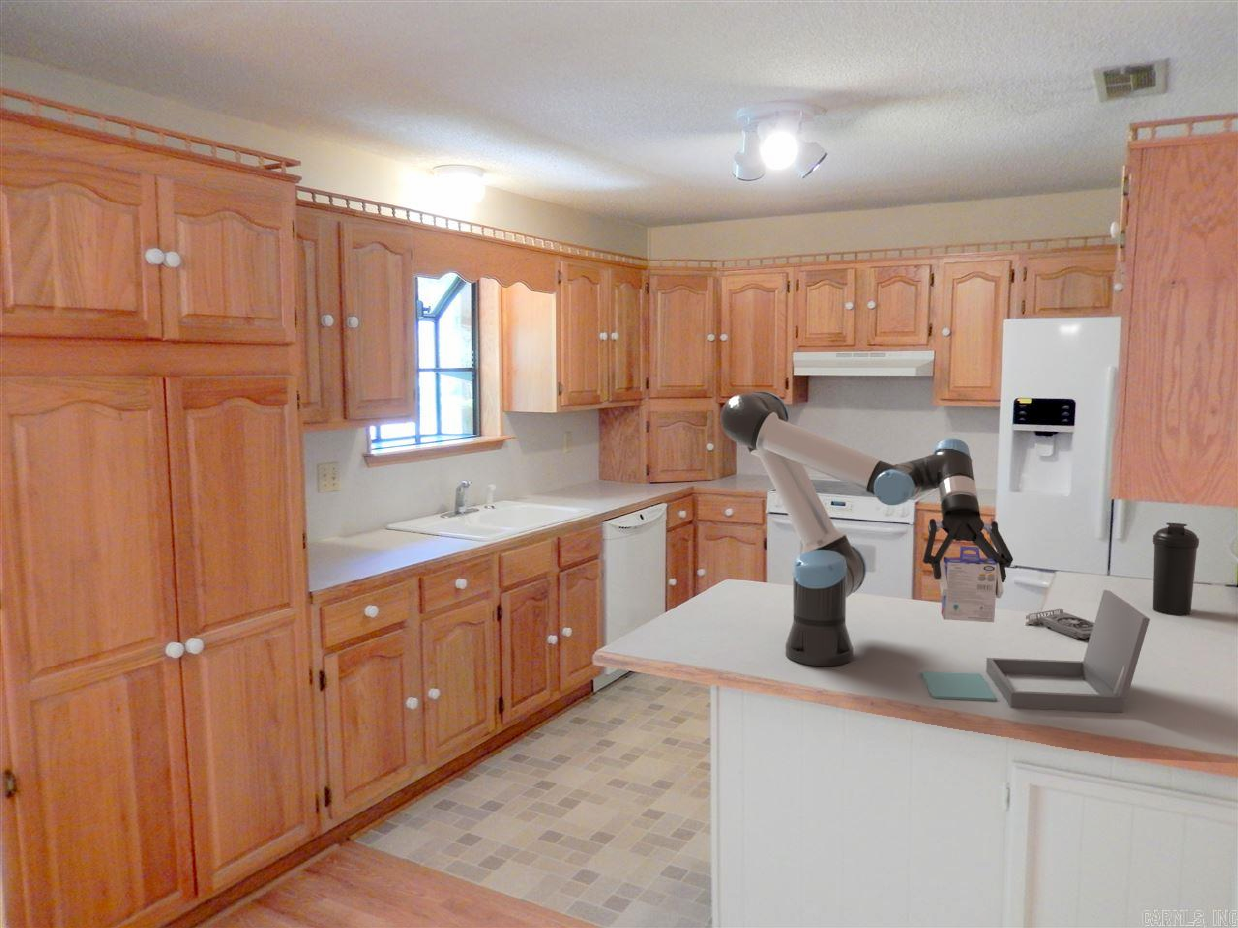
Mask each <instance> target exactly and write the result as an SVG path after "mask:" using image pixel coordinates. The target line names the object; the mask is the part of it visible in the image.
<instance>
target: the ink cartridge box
mask: <svg viewBox="0 0 1238 928" xmlns="http://www.w3.org/2000/svg"><path fill="white" fill-rule="evenodd" d="M959 549H960V552H959V554H960V555H959V557H958V556H957V557H956V556H955V557H954V556H951V557H950V556H943V561H944V563H945V571H946V580H947V588H948V590H947V592H946V595H945V596H941V597H942V600H941V612H940V613H941V616H942V618H943V620H946V621H965V622H966V621H967V622H980V623H981V622H982V623H983V622H985V623H995V617H996V614H995V611H996V600H997V598H996V582H997V568H998V564H997V563H996V562H995V561H994V560H993V559H992V558H987V557H981V556H980V549H979V547H978V546H977V547H976V546H974V547H973V546H960V548H959ZM967 551H972V552H975V554H973V553H964V552H967Z"/></svg>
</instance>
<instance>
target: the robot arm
mask: <svg viewBox="0 0 1238 928" xmlns="http://www.w3.org/2000/svg"><path fill="white" fill-rule="evenodd" d="M789 417H790V416H789V410H788V407H787V404H786V403H785V402H784V400H783V399H781V397H779V396H778V395H776V394H775V393H771V392H767V391H754V392H753V391H752V392H749V393H739V394H736V395H734V396H732V397H731V398H729V399H728V400H726V403H724V405H723V406H722V408H721V411H720V415H719V418H720V419H719V420H720V421H719V422H720V426H721V429H722V431H723V433H725V435H726V436H727V437H728V438H729V439H730V440H732V441H733V442H736V443H737V444H740V445H743V446H746V447H747V449H748V451H749V454H750V455H752V456H755V457H758V458H759V460H760V461H761V464H762V466H763V468H764V470H765V471H766V473H767V476H768V478H769V480H770V482H771V483H772V485H773V487H774V489H775V491H776V494H777V495H778V497H779V500H780V501H781V503H782V505H783V507H784V509H785V512H786V513H787V515H788V517H789V519H790V521H791V523H792V525H793V528H794V529H795V531H796V533H797V535H798V537H799V539H800V541H801V544H802V545H803V546H802V550H801V553H800V554H799V555H797V556H796V558H795V559H794V563H793V569H792V576H793V619H792V621H793V622H792V625H791V627H790V631H789V634H788V636H787V639H786V642H785V656H786V658H788V659H789V660H791V661H793V662H796V663H798V664H801V665H805V666H812V667H836V666H837V667H838V666H842V665H846V664H848V663H849V662H851V661H853V658H854V647H853V643H852V640H851V637H850V633H849V631H848V628H847V625H846V624H847V623H846V619H847V618H846V617H847V616H846V615H847V613H846V612H847V609H846V608H847V599H848V597H849V596H851V595H852V594H854V593H855V592H856V591H858V590H859V589H860V588H861V586H862V584H863V582H864V581H865V579H866V576H867V575H866V574H867V561H866V559H865V557H864V555H863V554H862V552H861V551H860V550H859V549H858V548H856V547H855V546H853V545H851V543H850V541H849V539H848V537H847V535H846V533H845V532H841V531H839V530H838V529H836V528H835V526H834V524H833V521H832V520H831V517H830V515H829V514H828V512H827V510H826V507H825V506H824V504H823V501H822V500H821V498H820V496H819V494H818V493H817V492H818V491H817V490H816V488H815V486H814V484H813V482H812V481H811V479H810V476H809V475H808V473H807V470H806V468H805V467H808V468H809V469H812V470H814V471H817V472H819V473H821V474H825V475H826V476H829V477H831V478H834V479H835V480H839V481H841V482H844V483H845V484H848V485H850V486H852V487H855V488H857V489H860V490H862V491H865V492H867V493H869V494H871V495H874V496H875V497H876V498H877V500H878V501H880V502H881V503H882V504H884V505H887V506H898V505H899V506H900V505H902V504H905V503H906V502H908V501H909V500H910V499H911V498H913V497H914V496H916V495H918V494H920V493H924V492H927V491H931V490H935V489H938V491H939V500H940V501H939V502H940V508H941V509H940V510H941V515H942V520H941V521H939V520H938V521H937V520H935V519H934V518H931V519H929V521H928V526H927V529H928V538H927V542H926V546H925V550H924V555H923V558H922V563H924V565H925V564H926V565H928V564H929V565H931V568H932V570H933V577H934V579H935V580H938V581H939V585H940V586H939V587H940V588H939V589H940V595H941V597H942V596H945V595H946V592H947V590H948V588H947V580H946V571H945V563H944V560H942V559H944V557H945V554H946V553H947V551H948V550H949V548H950V546H951V545H952V544H953V542H954V541H955V542H962V541H964V542H972V543H973V544H974V545H975V547H976V546H977V547H978V548H979V551H981V552H982V553H983V555H984V556H985V558H992V559H993V560H994V561H995V562H996V563H997V564H998V568H997V582H996V599H1001V598H1002V596H1003V594H1004V593H1005V592H1004V585H1003V583H1004V582H1005V580H1006V577H1007V573H1006V569H1005V568H1010V567H1011V565H1012V563H1013V561H1014V558H1013V556H1012V554H1011V552H1010V549H1009V547H1008V546H1007V544H1006V542H1005V540H1004V539H1003V536H1002V535H1001V533H1000V531H999V523H998V522H997V521H995V520H993V521H992V522H991V523H989V522H984V521H983V520H982V518H981V511H980V505H979V501H978V500H979V499H978V493H977V492H978V491H977V486H976V481H975V476H974V475H975V474H974V465H973V459H972V455H971V453H970V448H969V445H968V444H967V443H966V442H965V441H963V440H961V439H959V438H946V439H943V440H941V441H940V442H938V443H936V445H935V447H934V449H933V454H929V455H927V456H924V457H921V458H917V459H916V458H915V459H912V460H909V461H905V462H901V463H896V464H892V463H889V462H886V461H883V460H881V459H878V458H877V457H873V456H871V455H869V454H866V453H864V452H862V451H859V450H856V449H854V448H851V447H849V446H847V445H845V444H842V443H840V442H837V441H835V440H832V439H830V438H827V437H825V436H822V435H819V434H817V433H814V432H812V431H810V430H807V429H805V428H802V427H799V425H798V426H797V425H794V424H792V423H790V422H789ZM940 529H942V530H943V531H944V532H945V533H946V537H945V539H944V540H943V541H942V544H941V545H940V547H939V549H938V550H937V552H936V554H935V555H932V552H933V549H934V544H935V541H936V540H935V539H936V535H937V533H938V532H939V531H940ZM982 530H984V531H986V534H987V535H989V538H990V541H991V542H992V544H993V545H994V546H993V545H992V544H991V543H990V542H989V540H987V538H986V537H985V535H984V533H983V532H982Z"/></svg>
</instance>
